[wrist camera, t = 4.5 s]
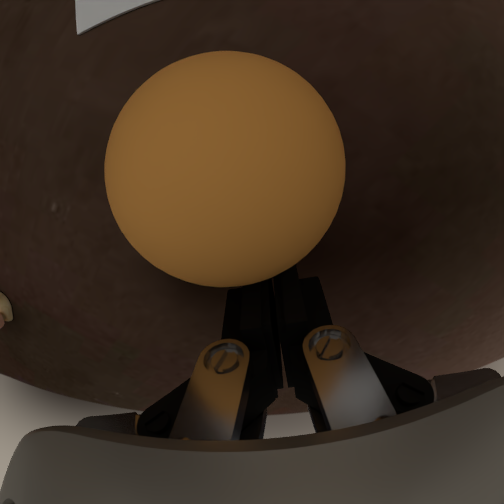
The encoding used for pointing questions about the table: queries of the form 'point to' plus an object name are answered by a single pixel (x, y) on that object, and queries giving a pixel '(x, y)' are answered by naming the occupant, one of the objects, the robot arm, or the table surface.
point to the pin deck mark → (103, 11)
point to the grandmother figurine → (5, 310)
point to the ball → (225, 169)
